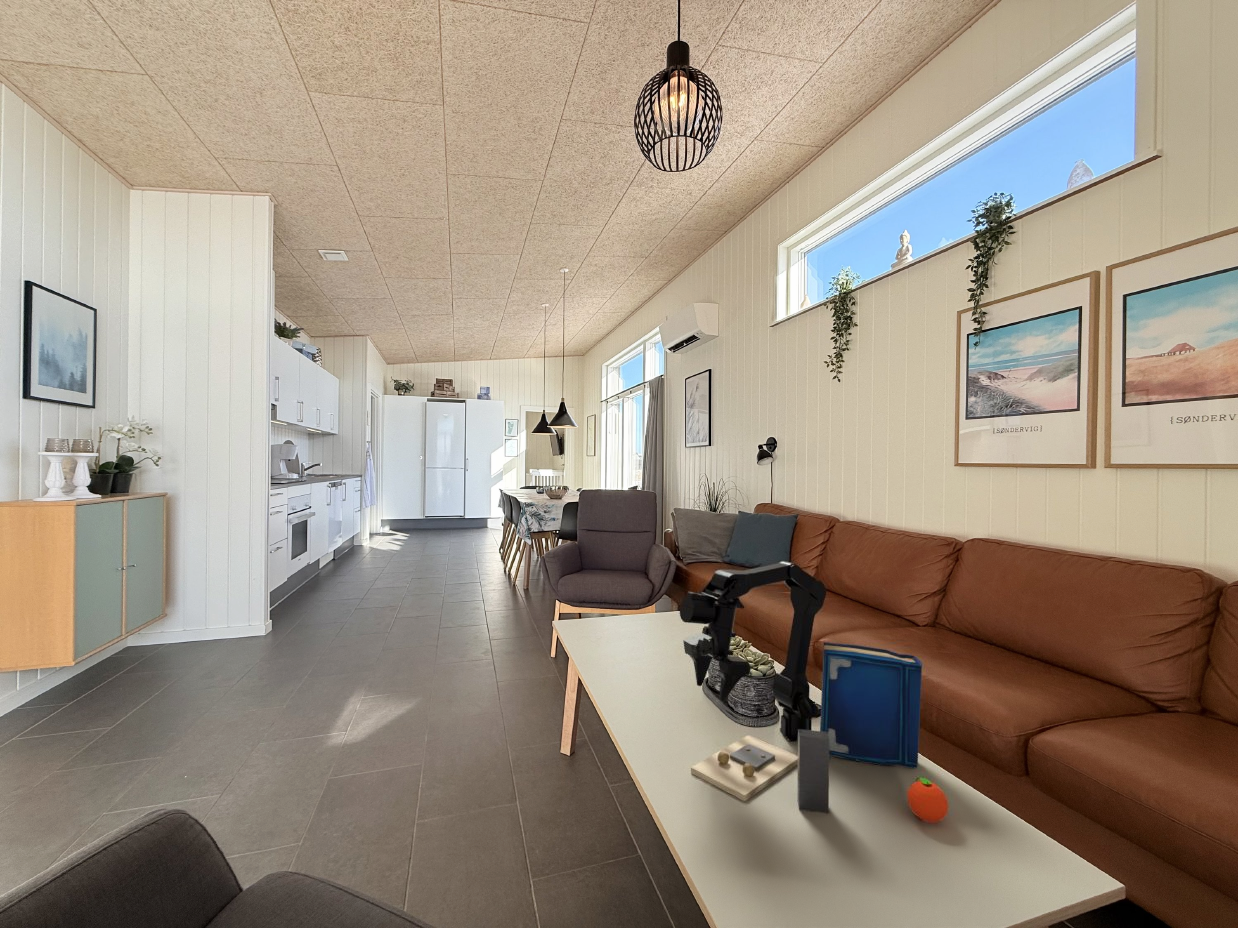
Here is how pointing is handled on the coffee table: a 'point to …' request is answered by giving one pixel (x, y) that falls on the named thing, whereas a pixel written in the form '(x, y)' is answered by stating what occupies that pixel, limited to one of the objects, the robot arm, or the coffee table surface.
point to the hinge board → (736, 769)
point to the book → (871, 704)
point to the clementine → (927, 801)
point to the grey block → (813, 771)
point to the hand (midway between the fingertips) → (710, 692)
